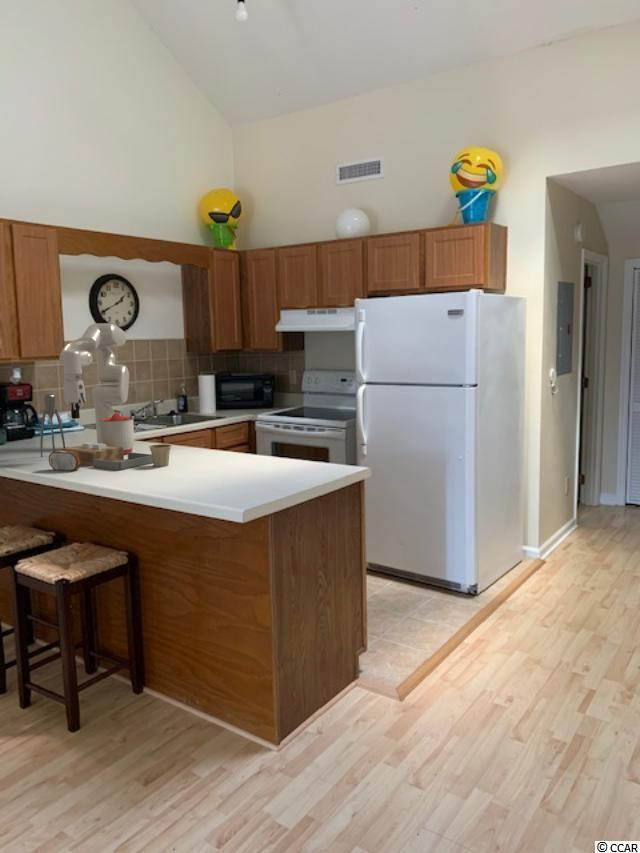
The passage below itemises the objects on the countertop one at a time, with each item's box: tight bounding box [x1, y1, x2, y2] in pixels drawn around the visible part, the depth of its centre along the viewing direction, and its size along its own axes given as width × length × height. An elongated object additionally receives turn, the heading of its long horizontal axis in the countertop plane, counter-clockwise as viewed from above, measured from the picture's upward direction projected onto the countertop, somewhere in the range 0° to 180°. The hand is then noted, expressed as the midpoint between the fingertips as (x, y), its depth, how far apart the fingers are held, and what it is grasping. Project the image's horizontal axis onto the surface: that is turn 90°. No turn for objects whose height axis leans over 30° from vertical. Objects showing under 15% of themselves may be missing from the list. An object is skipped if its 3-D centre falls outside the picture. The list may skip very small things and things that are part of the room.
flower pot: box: [148, 443, 172, 468], centre depth 286 cm, size 9×9×9 cm
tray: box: [92, 452, 153, 471], centre depth 290 cm, size 20×17×4 cm
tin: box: [48, 449, 82, 472], centre depth 281 cm, size 15×3×8 cm, turn 71°
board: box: [61, 444, 125, 467], centre depth 302 cm, size 16×22×6 cm
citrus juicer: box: [100, 411, 138, 455], centre depth 320 cm, size 16×17×20 cm
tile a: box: [82, 442, 97, 449], centre depth 302 cm, size 4×4×2 cm
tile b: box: [93, 443, 106, 450], centre depth 298 cm, size 4×4×2 cm
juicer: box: [39, 393, 66, 458], centre depth 313 cm, size 10×11×30 cm
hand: (75, 418), depth 304 cm, fingers closed
